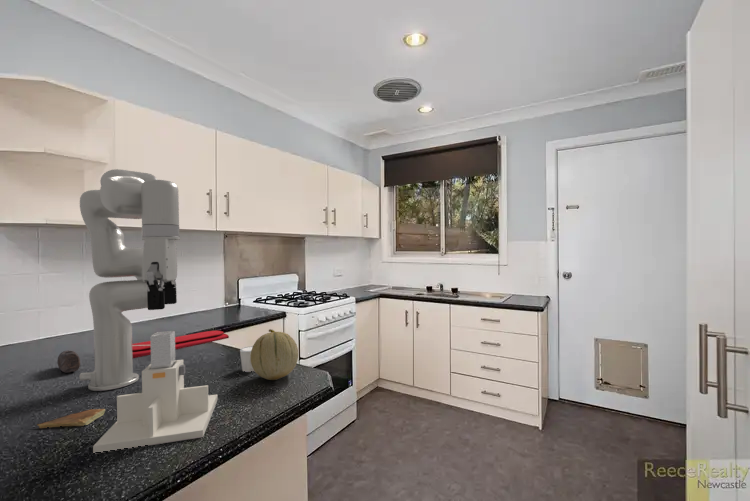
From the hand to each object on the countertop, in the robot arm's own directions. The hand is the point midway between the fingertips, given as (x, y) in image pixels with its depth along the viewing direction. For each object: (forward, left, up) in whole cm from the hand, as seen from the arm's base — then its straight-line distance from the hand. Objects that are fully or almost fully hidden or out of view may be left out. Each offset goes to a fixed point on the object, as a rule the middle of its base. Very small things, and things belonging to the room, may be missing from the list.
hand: (163, 306), depth 82 cm
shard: (-21, +7, -28) cm, 36 cm away
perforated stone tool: (-45, +55, -28) cm, 77 cm away
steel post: (0, 0, -24) cm, 24 cm away
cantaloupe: (+25, +22, -28) cm, 43 cm away
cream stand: (0, 0, -27) cm, 27 cm away
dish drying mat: (-17, +80, -28) cm, 86 cm away
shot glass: (+17, +34, -28) cm, 47 cm away
